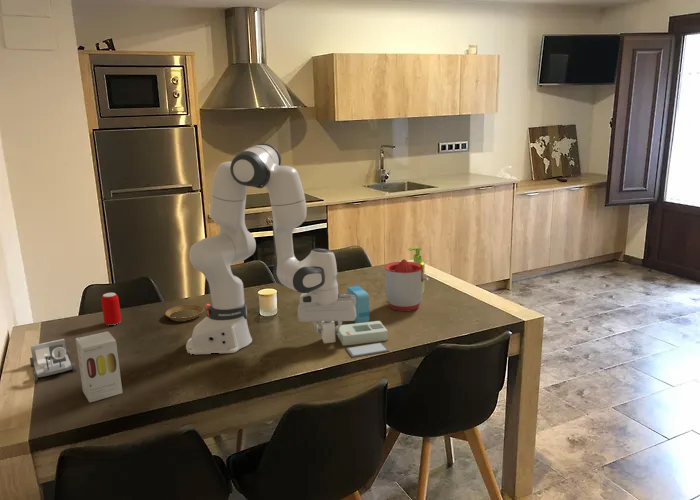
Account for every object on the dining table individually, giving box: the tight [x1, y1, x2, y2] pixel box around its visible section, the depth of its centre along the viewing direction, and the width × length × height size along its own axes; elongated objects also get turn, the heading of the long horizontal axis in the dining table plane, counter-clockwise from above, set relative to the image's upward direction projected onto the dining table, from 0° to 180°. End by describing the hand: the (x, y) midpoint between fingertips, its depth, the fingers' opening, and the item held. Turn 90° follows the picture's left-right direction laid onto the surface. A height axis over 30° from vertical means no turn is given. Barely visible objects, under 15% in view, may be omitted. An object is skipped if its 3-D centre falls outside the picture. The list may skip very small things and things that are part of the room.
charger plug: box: [320, 321, 336, 344], centre depth 199 cm, size 4×4×7 cm
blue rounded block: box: [346, 285, 370, 324], centre depth 217 cm, size 12×4×12 cm, turn 19°
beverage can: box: [100, 292, 122, 326], centre depth 219 cm, size 6×6×12 cm
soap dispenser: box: [408, 246, 426, 294], centre depth 245 cm, size 6×7×20 cm
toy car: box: [29, 338, 77, 382], centre depth 182 cm, size 18×10×12 cm
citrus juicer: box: [384, 258, 429, 312], centre depth 228 cm, size 16×17×20 cm
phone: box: [345, 341, 390, 359], centre depth 191 cm, size 13×7×1 cm, turn 108°
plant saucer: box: [164, 304, 205, 322], centre depth 226 cm, size 15×15×3 cm
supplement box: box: [75, 331, 123, 404], centre depth 165 cm, size 10×9×17 cm
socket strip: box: [336, 320, 389, 346], centre depth 201 cm, size 16×10×4 cm, turn 103°
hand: (328, 332), depth 198 cm, fingers open, 5 cm apart
